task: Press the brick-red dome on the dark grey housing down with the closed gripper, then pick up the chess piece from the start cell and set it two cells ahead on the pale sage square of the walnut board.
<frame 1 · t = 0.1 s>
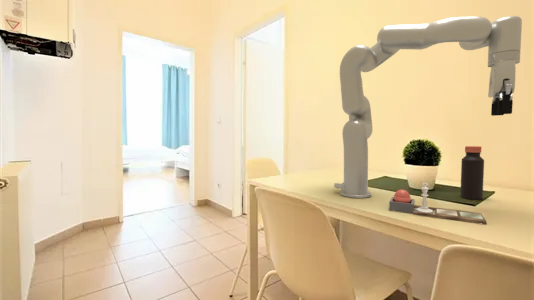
hand: (500, 114, 83), 31 cm above the table, tool pointing down, fingers open, 9 cm apart
chess piece: (424, 212, 85), on the table
game board: (446, 214, 82), on the table
pop dome: (402, 196, 88), point 4 cm above the table, slide at 0.0 cm
bottle: (471, 198, 101), on the table
dome housing: (401, 209, 88), on the table
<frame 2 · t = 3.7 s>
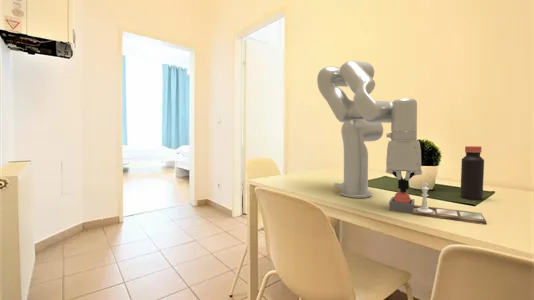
hand: (403, 191, 87), 6 cm above the table, tool pointing down, fingers closed
pop dome: (402, 197, 88), point 4 cm above the table, slide at 0.5 cm, touching gripper
everything else where it was.
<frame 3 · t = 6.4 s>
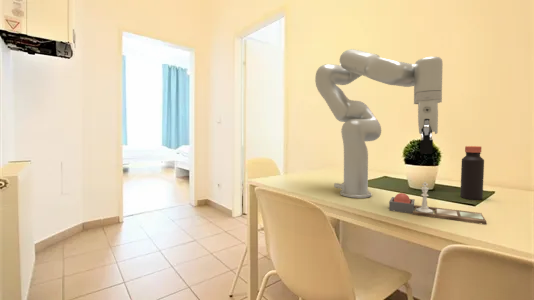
hand: (426, 152, 83), 20 cm above the table, tool pointing down, fingers open, 9 cm apart
pop dome: (402, 200, 88), point 3 cm above the table, slide at 1.2 cm
everything else where it was.
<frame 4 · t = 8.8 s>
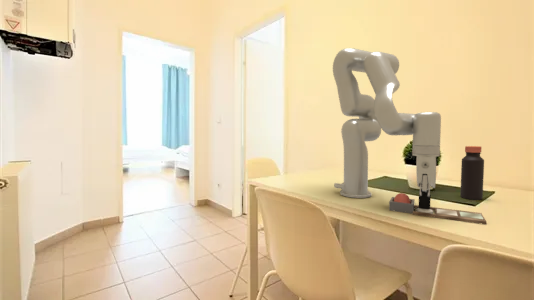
hand: (424, 207, 85), 2 cm above the table, tool pointing down, fingers closed on chess piece
chess piece: (424, 212, 85), on the table, touching gripper
everything else where it was.
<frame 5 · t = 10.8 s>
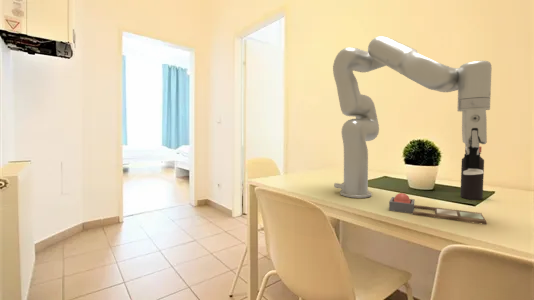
hand: (471, 167, 77), 15 cm above the table, tool pointing down, fingers closed on chess piece
chess piece: (473, 174, 77), point 13 cm above the table, touching gripper
everything else where it was.
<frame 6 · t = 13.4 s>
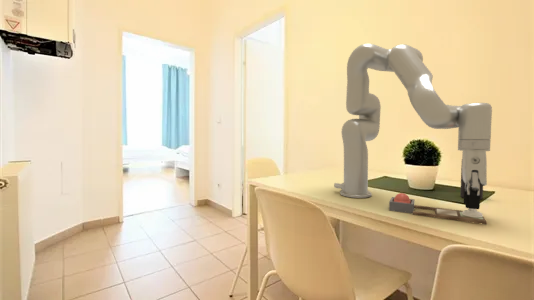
hand: (471, 205, 78), 4 cm above the table, tool pointing down, fingers open, 4 cm apart
chess piece: (472, 215, 78), point 1 cm above the table, touching game board
everything else where it was.
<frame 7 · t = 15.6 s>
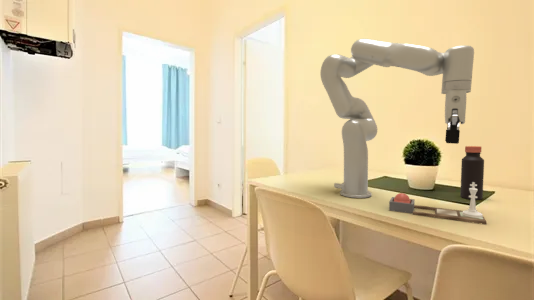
hand: (451, 142, 83), 23 cm above the table, tool pointing down, fingers open, 9 cm apart
nothing on the table moved.
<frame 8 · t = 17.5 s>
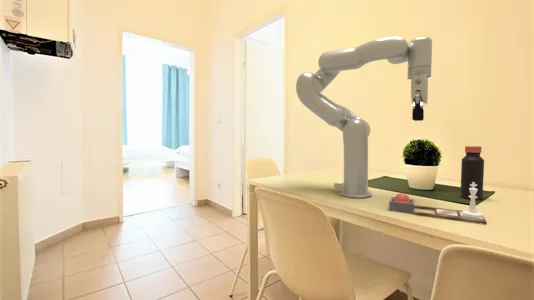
hand: (418, 120, 97), 30 cm above the table, tool pointing down, fingers open, 9 cm apart
nothing on the table moved.
at the end: pop dome slide at 1.2 cm; chess piece 0.3 cm from the target spot on the game board, point 0.7 cm above the game board's base; chess piece tilted 0° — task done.
